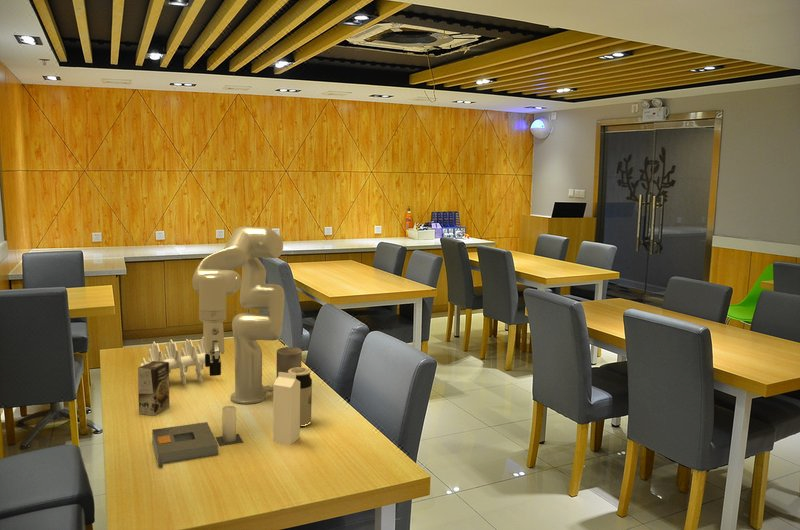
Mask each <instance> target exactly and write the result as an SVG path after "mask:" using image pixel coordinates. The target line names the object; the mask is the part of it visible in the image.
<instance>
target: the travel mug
mask: <svg viewBox="0 0 800 530" xmlns="http://www.w3.org/2000/svg"><path fill="white" fill-rule="evenodd" d="M288 373H292V374H296V379H297V380H299V381H300V426H301V425H305V424H308V423H309V422H311V423H312V405H313V404H312V403H313V401H312V400H313V399H312V398H313V397H312V394H313V393H312V392H313V391H312V388H313V379H312V377H311V373H312V370H311V369H310V368H307V367H304V366H303V367H302V366H301V367H296V368H292V369H289V370H288Z"/></svg>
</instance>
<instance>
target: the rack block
mask: <svg viewBox="0 0 800 530" xmlns="http://www.w3.org/2000/svg"><path fill="white" fill-rule="evenodd" d="M151 433H152V434H151V436H152V437H151V439H152V446H153V451H154V455H155V459H156V463H158V464H157V467H160V468H163V467H164V465H163V464H169V463H176V462H181V461H188V460H194V459H200V458H206V457H211V456H212V457H213V456H218V455H219V444H218V442H217V440H216V438H215V436H214V433H213V432H212V430H211V427H210V425H209V423H208V421H204V422H198V423H192V424H190V423H189V424H185V425H184V424H183V425H182V424H181V425H177V426H169V427H163V428H154V429H152V430H151Z"/></svg>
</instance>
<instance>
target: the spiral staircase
mask: <svg viewBox="0 0 800 530" xmlns="http://www.w3.org/2000/svg"><path fill="white" fill-rule="evenodd" d="M182 346H183V347H181V349H180V350H181V351H180V350H179V349H178V346H177V343H176V341H173V340H172V339H169V341H168V342H166V345H165V351H164V352H165V353H163V350H161V349H160V346H159V343H158V342H157V343H156V342H155V341H153V342H152V344H151V345H150V346H149V347H150V348H149V349H148V357H147V361H146V358H145V357H142V363H140V365H139V367H141V366H143V365H145V364H148V363H150V362H152V361H161V362H169V374H170V373H171V372H172V371H171V370H175V369H179V374H180V378H181V382H182V384H183V386H186V383H187V381H186V380H187V379H186V373H187V372H188V368H189V367H193V366H195V373H196V378H197V379H198V382H199V383H202V382H203V376H202V375H203V372H202V370H204V365H205V354H206V353H205V348H204V337H203V336H202V337H201V339H200V340H199V341H198V344H197V347H196V345H194V344H193V342H192V339H188V338H186V339H185V341H184V342H183V344H182Z"/></svg>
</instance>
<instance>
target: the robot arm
mask: <svg viewBox="0 0 800 530" xmlns="http://www.w3.org/2000/svg"><path fill="white" fill-rule="evenodd" d="M283 251H284V243H283V239H282V237H281V236H280V235H279V234H278V233H277V232H276V231H274V230H273V229H271V228H269V227H266V226H241V227H237V228H236V229H234V231H232V234H231V236H230V237H229V239H228V241H227V243H226V244H225V246H224V248H222V249H219V250H217V251H216V252H214V253H211V254H210V255H208V256H206V257H204V258H203V259H202V260H201V261H200V262H199V264H198V266H197V267H196V269H195V270H194V273H193V276H192V280H191V281H192V283H191V284H192V288H193V289H194V291H195V292H196V293H198V295H199V297H198V298H199V299H198V300H199V301H198V302H199V306H198V307H199V310H198V311H199V312H198V313H199V318H198V319H199V321H200V322H202V323H203V326H202V327H203V329H202V330H203V331H202V332H203V336H202V337H204V348H205V353H206V354H205V364H204V366H205V367H206V368H209V376H210V377H215V376H221V374H222V361H221V355H223V354H225V334H224V332H225V331H224V330H225V329H224V321H226V316H227V314H226V311H227V310H226V305H227V303H226V301H227V299H226V297H227V296H229V295H235V294H236V293H237V292H238V291H239V290H240V292H239V303H240V306H241V307H242V308H243V309H246V310H255V311H258V310H259V311H269V313H262V312H261V313H260V312H241V313H238V314H236V315H235V316H234V317H233V319H232V321H231V328H232V335H233V340H234V341H233V343H234V392H233V393H231V395H230V400H231V401H232V402H233V403H236V404H239V403H240V404H242V405H252V404H257V403H260V402H263V401H265V400H266V399H267V394H268V393H273V386H270V385H269V384H267V385H263V350H262V347H261V345H260V344H259V342H258V341H277V340H279V339H280V337H281V335H282V331H283V322H284V311H285V299H286V297H285V291H284V288H283V287H282V286H281V285H280V284H276V283H275V284H274V283H266V277H267V270H266V268H265V265H264V264H263V263H262V261H261V260H260V259H262V258H264V259H277V258H279V257H280V256H282V254H283ZM259 258H260V259H259ZM240 268H241V270H242V271H241V275H240V274H239V273H238V272H237V271H235V270H237V269H240Z"/></svg>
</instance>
